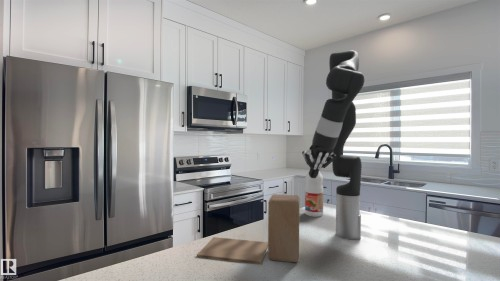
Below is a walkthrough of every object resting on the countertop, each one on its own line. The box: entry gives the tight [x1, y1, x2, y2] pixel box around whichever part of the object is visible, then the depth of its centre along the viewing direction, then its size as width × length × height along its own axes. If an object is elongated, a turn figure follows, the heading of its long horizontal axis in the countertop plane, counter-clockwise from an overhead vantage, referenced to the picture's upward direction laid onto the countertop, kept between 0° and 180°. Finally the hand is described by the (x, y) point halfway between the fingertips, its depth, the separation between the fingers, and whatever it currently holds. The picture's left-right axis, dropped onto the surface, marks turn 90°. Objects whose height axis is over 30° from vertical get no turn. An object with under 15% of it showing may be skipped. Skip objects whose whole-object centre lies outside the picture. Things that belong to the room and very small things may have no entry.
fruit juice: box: [304, 169, 324, 218], centre depth 138 cm, size 9×9×28 cm
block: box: [267, 194, 301, 263], centre depth 89 cm, size 10×10×20 cm
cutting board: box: [196, 236, 268, 265], centre depth 93 cm, size 22×16×1 cm
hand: (312, 176), depth 91 cm, fingers closed
